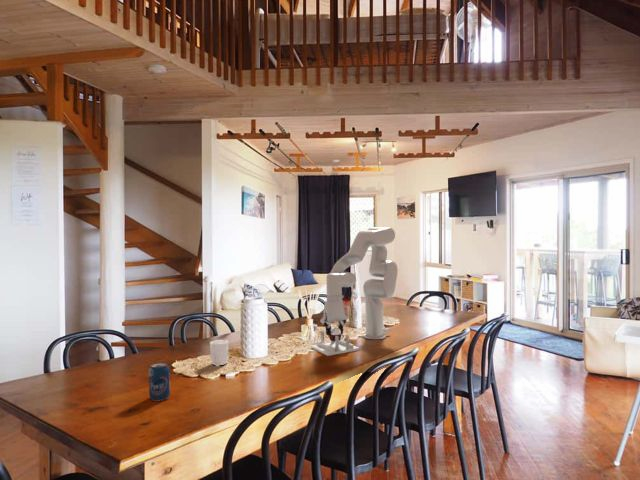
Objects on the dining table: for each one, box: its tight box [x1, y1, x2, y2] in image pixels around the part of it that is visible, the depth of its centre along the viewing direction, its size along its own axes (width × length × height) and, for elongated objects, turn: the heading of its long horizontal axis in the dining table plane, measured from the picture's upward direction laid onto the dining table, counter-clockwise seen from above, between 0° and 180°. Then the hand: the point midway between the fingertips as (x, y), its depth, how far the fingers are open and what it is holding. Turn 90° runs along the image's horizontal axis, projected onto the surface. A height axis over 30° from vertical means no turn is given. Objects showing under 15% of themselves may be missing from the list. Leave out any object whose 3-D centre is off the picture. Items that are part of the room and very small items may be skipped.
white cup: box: [209, 339, 229, 365], centre depth 195 cm, size 8×8×10 cm
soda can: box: [148, 361, 171, 402], centre depth 157 cm, size 7×7×12 cm
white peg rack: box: [310, 329, 360, 357], centre depth 217 cm, size 18×16×8 cm
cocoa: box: [328, 325, 345, 342], centre depth 216 cm, size 10×6×12 cm, turn 42°
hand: (334, 334), depth 217 cm, fingers closed on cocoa, 6 cm apart
